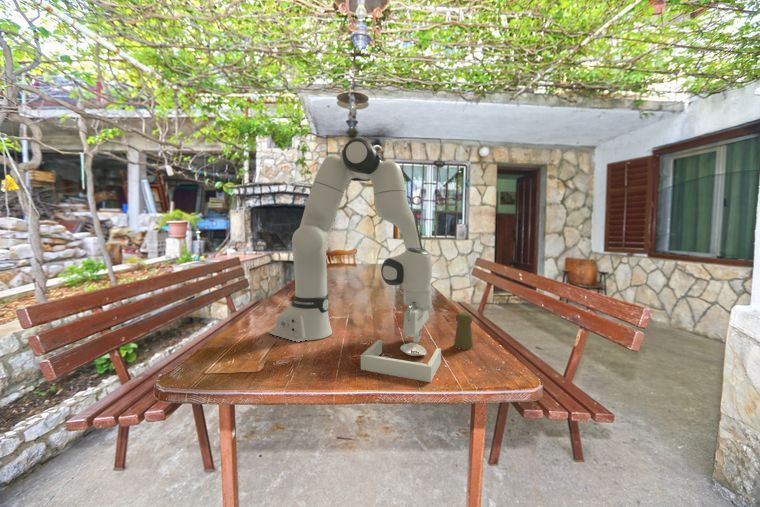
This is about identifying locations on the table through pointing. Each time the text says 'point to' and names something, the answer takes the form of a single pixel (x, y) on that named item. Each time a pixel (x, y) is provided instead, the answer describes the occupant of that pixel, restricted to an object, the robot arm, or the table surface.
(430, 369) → the box
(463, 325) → the green tapered cylinder
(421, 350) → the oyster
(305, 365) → the table surface
